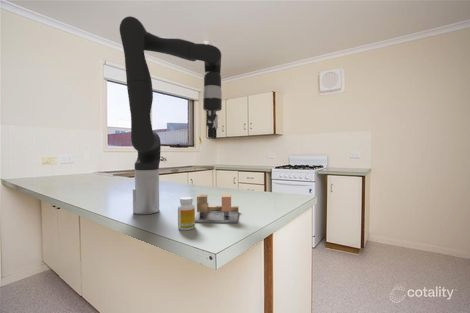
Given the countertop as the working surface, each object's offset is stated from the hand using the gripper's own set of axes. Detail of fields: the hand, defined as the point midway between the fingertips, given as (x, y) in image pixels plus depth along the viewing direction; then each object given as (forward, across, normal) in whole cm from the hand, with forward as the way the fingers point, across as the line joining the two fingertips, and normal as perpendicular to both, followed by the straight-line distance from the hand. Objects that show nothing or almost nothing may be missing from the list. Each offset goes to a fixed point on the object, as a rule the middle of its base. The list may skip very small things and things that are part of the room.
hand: (212, 138), depth 97 cm
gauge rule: (+30, +8, +4) cm, 31 cm away
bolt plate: (+30, +11, +4) cm, 32 cm away
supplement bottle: (+30, +22, -5) cm, 38 cm away
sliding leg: (+28, +12, +7) cm, 32 cm away
